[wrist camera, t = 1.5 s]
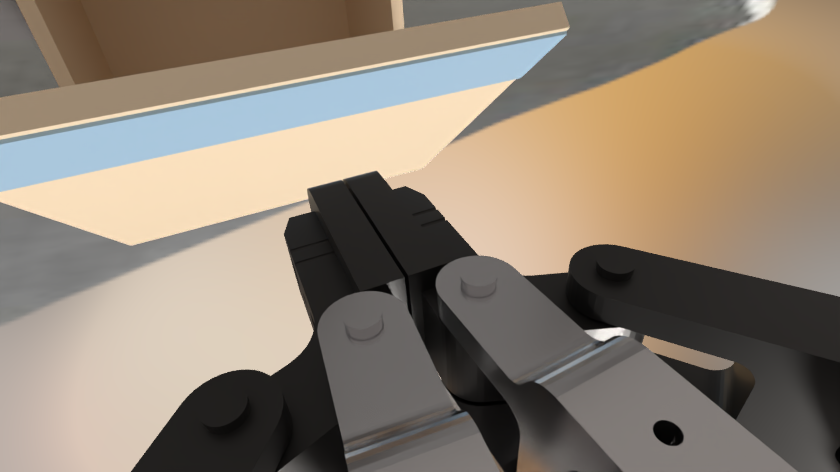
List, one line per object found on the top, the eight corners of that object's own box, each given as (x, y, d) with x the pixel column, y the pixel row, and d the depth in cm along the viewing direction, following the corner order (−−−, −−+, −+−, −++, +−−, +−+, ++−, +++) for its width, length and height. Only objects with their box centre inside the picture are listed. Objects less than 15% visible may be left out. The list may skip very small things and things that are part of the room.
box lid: (561, 1, 14) (571, 30, 14) (418, 156, 30) (422, 170, 30) (-137, 121, 9) (-125, 164, 9) (126, 230, 25) (131, 247, 25)
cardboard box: (329, -157, 28) (387, -179, 21) (365, 109, 37) (414, 160, 30) (8, -140, 23) (-67, -161, 16) (141, 158, 33) (133, 233, 25)
